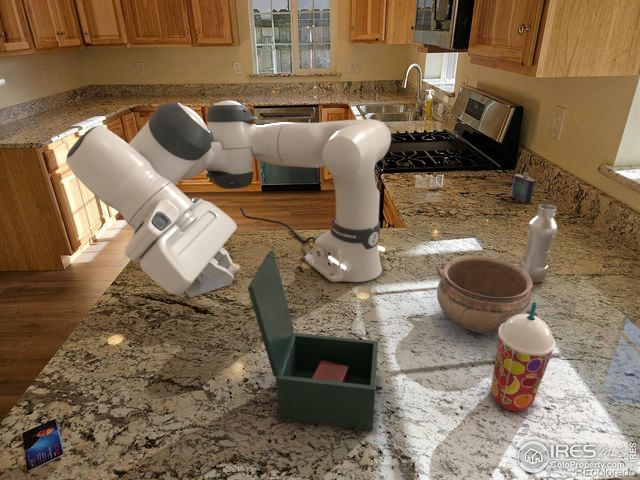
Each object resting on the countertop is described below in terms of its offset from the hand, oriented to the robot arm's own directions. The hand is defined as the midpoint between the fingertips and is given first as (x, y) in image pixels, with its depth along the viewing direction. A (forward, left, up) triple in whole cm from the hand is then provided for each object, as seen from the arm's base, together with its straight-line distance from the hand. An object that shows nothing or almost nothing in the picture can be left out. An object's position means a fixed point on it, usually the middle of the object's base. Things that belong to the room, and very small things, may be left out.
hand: (234, 277), depth 67 cm
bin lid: (+5, +4, -6) cm, 9 cm away
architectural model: (-41, +13, -23) cm, 49 cm away
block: (+12, +9, -22) cm, 27 cm away
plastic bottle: (+19, +75, -23) cm, 81 cm away
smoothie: (+34, +32, -23) cm, 52 cm away
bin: (+12, +9, -23) cm, 28 cm away
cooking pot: (+19, +48, -23) cm, 57 cm away
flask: (-9, +131, -23) cm, 134 cm away
